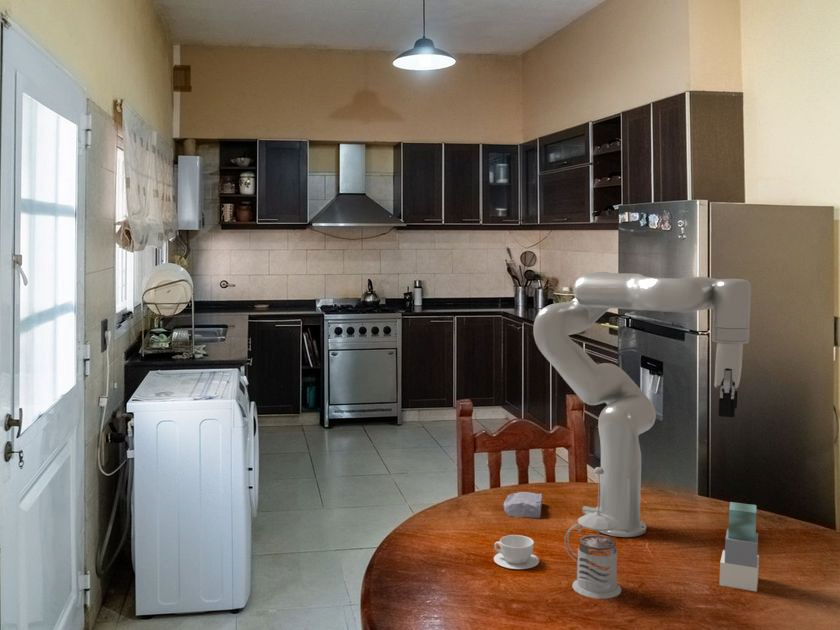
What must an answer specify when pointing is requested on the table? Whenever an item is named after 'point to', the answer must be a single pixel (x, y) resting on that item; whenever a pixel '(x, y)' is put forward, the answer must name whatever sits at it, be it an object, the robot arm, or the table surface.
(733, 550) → the tower top
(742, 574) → the block
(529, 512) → the stone block
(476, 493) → the table surface
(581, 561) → the french press
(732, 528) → the teal pillar
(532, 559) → the teacup
